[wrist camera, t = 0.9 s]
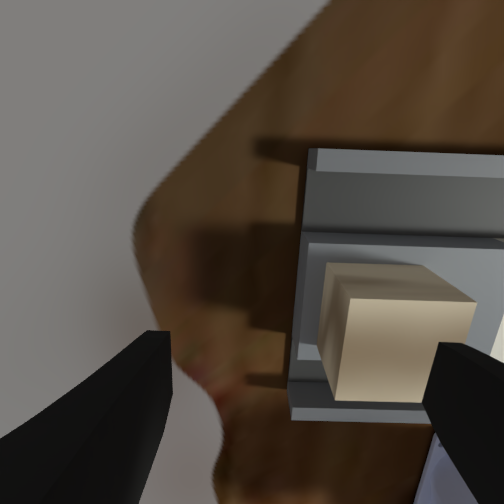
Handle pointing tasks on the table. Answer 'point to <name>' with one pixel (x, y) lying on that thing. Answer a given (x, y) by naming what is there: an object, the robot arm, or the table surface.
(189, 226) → the table surface
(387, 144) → the table surface
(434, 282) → the maple block
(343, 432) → the table surface
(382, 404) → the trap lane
